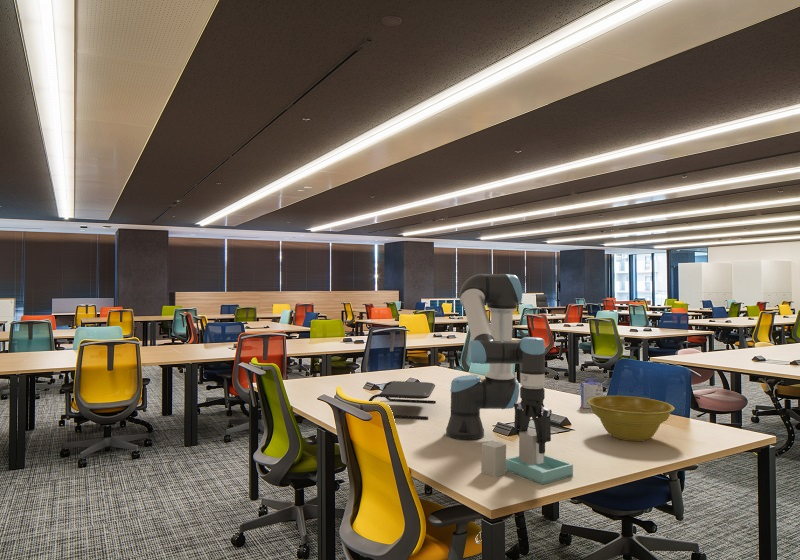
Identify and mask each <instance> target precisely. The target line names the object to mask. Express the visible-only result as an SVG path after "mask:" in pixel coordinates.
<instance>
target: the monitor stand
mask: <svg viewBox="0 0 800 560" xmlns="http://www.w3.org/2000/svg"><path fill="white" fill-rule="evenodd" d="M435 388H436V384H435V383H433V382H428V381H427V382H425V381H423V382H422V381H404V380H403V381H401V380H399V381H397V380H392V381H388V382H387V383H385V384H384V386H383V388H382V391H380V392H379V393H377V394H373V395H371V397H370V398H369V399H368V401H372V402H373V400H374V399H376V398H384V399H386V400H388V401H389V402H398V403H400V402H401V403H423V404H436V403H437V402H436V401H437V400H427V399H429V398H430V397H431V394H432V393H433V391H434V389H435ZM424 399H425V400H424ZM393 415H394V418H393V419H409V420H410V419H411V420H429V417H428V416H426V415H425V416H423V415H422V416H421V415H404V414H393Z"/></svg>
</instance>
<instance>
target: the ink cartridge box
mask: <svg viewBox="0 0 800 560" xmlns="http://www.w3.org/2000/svg"><path fill="white" fill-rule="evenodd" d="M586 380H587V382H580V407H581V408H582V409H591V406H590V404H589V403H588V402H587V400H588V399H590V398H593V397H599V396H604V395H603V394H604V393H603V392H604V391H603V390H604V388H603V383H601V382H596V381H595V378H593V377H587V378H586Z"/></svg>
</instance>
